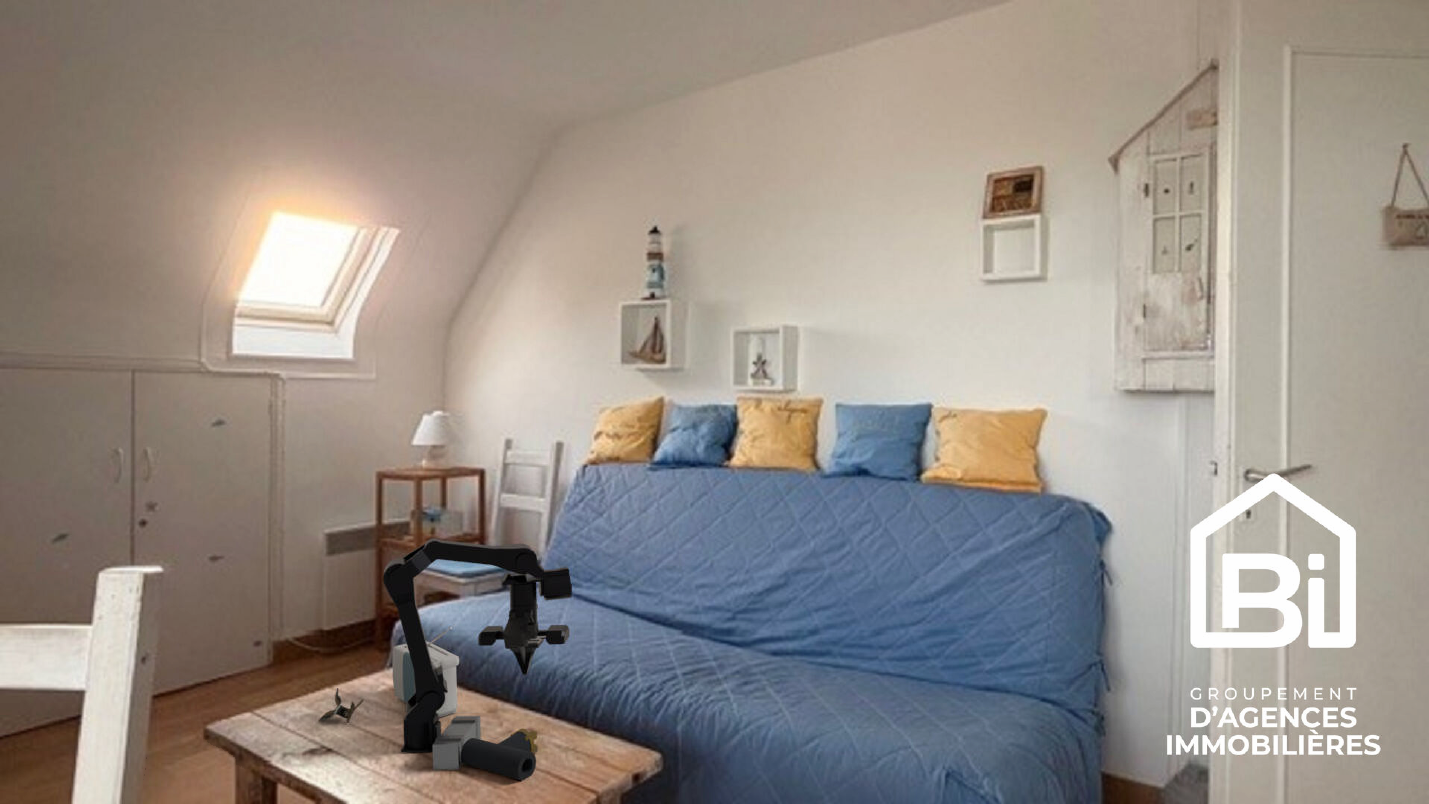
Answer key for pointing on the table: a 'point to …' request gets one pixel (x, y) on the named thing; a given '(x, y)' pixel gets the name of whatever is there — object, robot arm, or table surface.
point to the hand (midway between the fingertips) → (525, 674)
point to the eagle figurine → (341, 709)
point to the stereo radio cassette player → (406, 680)
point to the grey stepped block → (454, 742)
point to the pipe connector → (503, 754)
